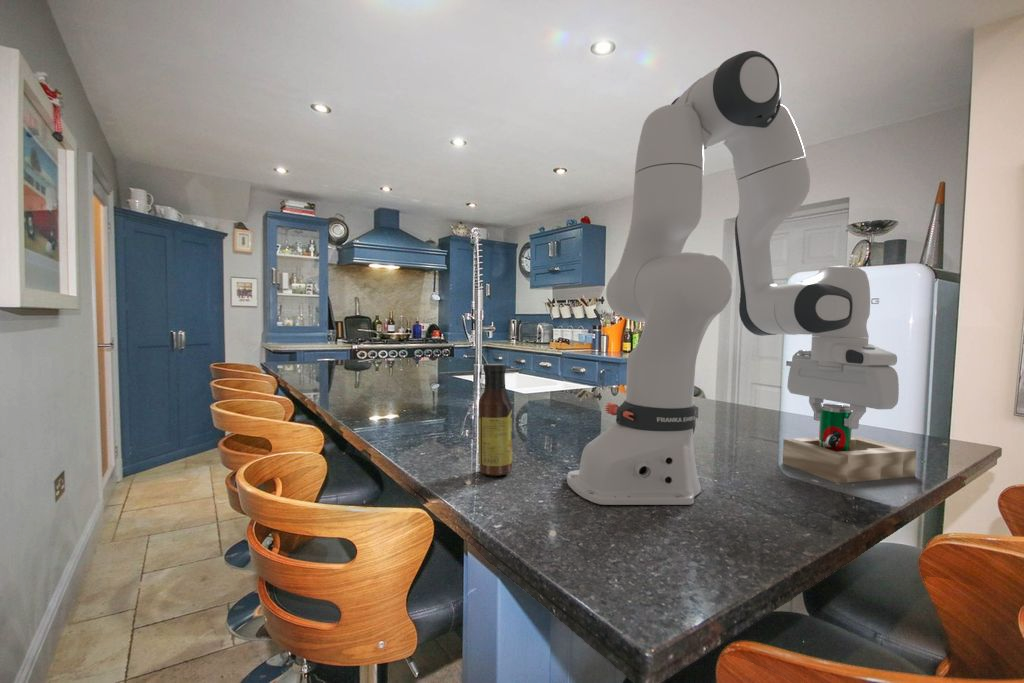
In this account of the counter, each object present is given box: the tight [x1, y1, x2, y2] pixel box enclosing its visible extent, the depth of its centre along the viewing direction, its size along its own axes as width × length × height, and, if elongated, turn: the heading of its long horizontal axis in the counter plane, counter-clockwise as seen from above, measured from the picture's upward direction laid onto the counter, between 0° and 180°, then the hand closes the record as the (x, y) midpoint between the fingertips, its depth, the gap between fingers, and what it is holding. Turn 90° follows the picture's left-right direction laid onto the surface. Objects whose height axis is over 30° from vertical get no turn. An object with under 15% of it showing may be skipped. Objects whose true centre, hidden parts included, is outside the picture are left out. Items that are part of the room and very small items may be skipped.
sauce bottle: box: [477, 363, 514, 477], centre depth 86 cm, size 6×6×20 cm
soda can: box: [818, 403, 853, 452], centre depth 89 cm, size 5×5×12 cm
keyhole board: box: [782, 434, 917, 484], centre depth 90 cm, size 18×12×5 cm, turn 104°
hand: (835, 424), depth 89 cm, fingers closed on soda can, 5 cm apart
